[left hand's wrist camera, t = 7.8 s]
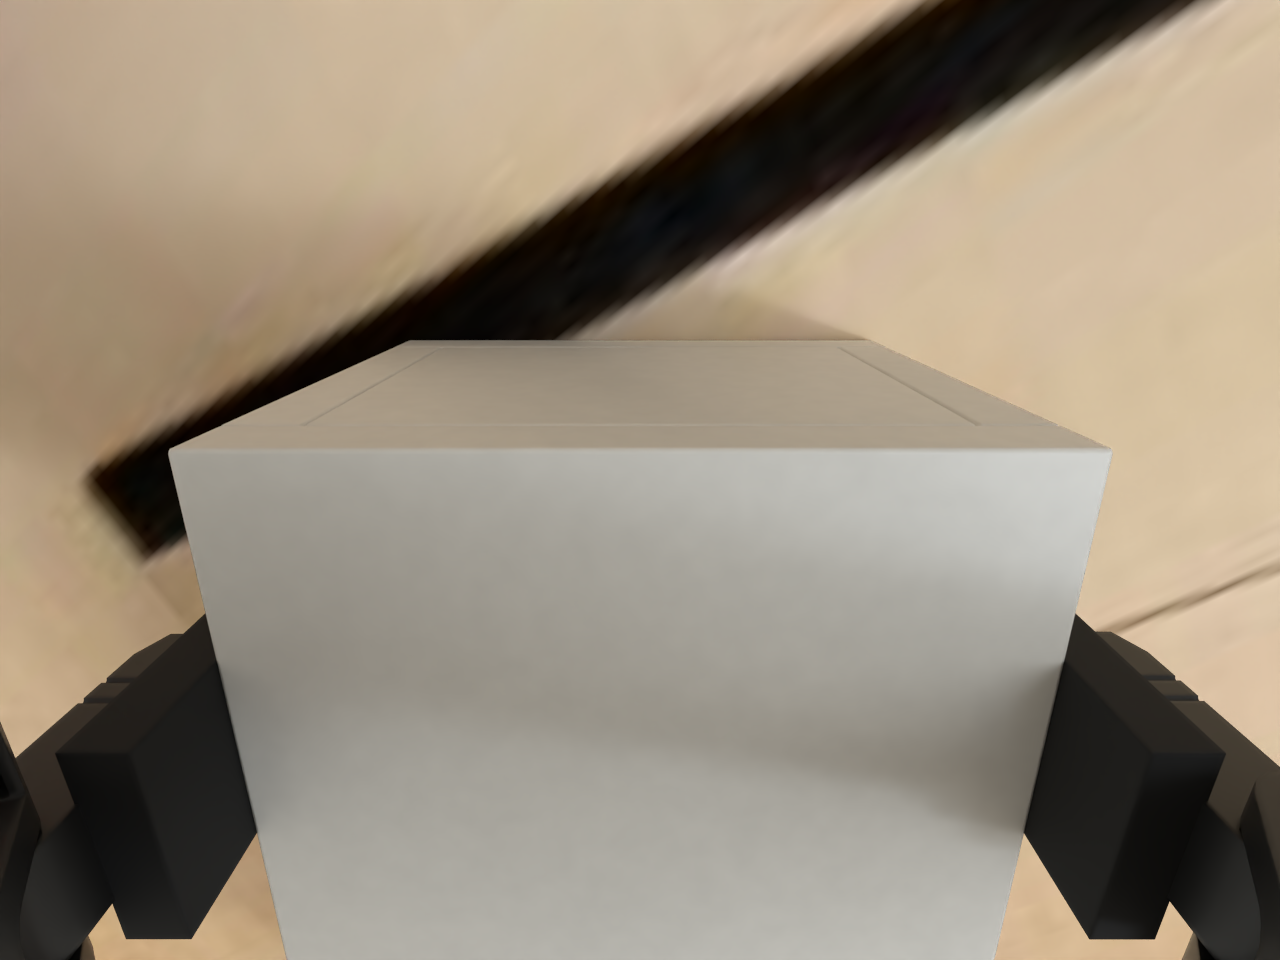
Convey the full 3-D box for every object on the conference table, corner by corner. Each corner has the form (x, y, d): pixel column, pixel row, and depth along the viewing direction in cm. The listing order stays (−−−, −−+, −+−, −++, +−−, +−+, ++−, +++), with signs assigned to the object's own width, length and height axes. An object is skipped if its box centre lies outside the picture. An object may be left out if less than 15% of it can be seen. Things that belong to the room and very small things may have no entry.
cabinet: (802, 980, 22) (893, 1397, 14) (478, 981, 22) (388, 1397, 14) (871, 340, 16) (1116, 447, 8) (408, 340, 16) (163, 448, 8)
